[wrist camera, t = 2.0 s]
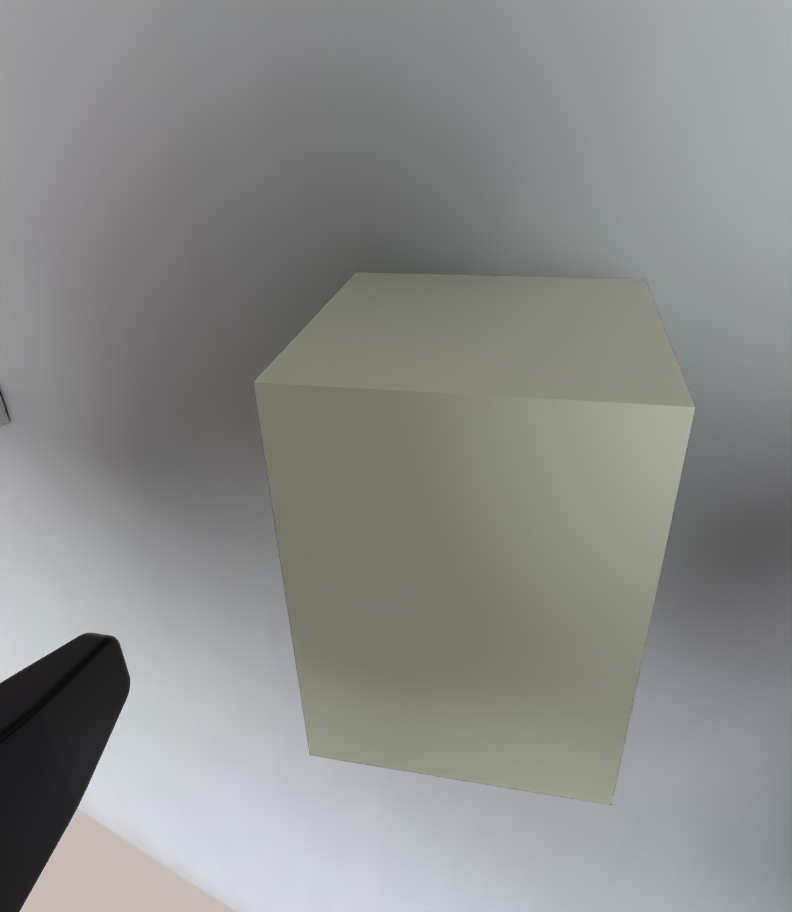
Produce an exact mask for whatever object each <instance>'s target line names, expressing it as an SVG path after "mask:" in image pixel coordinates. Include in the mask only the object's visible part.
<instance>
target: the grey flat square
mask: <svg viewBox="0 0 792 912" xmlns="http://www.w3.org/2000/svg"><path fill="white" fill-rule="evenodd" d="M8 422H9V419H8V416H7V413H6V410H5V407H4V404H3V401H2V398H1V395H0V427H2V426H3V425H5V424H6V423H8Z"/></svg>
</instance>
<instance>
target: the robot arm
mask: <svg viewBox="0 0 792 912" xmlns="http://www.w3.org/2000/svg"><path fill="white" fill-rule="evenodd" d="M129 689H130V676H129V673H128V669H127V666H126V663H125V659H124V656H123V653H122V650H121V646H120V644H119V641H118V640H117V639H116V638H115V637H113V636H109V635H103V634H97V633H85V634H83V635H80V636H78V637H77V638H75V639H73V640H72V641H70V642H68V643H67V644H65V645H63V646H62V647H60V648H58V649H57V650H55V651H53V652H52V653H50V654H48V655H46V656H45V657H43V658H41V659H40V660H38V661H36V662H35V663H33V664H31V665H30V666H28V667H26V668H25V669H23V670H21V671H20V672H18V673H16V674H15V675H13V676H11V677H9V678H8V679H6V680H4V681H3V682H1V683H0V912H19V911H20V910H21V908H22V906H23V904H24V902H25V901H26V899H27V897H28V895H29V894H30V892H31V890H32V888H33V886H34V884H35V883H36V881H37V879H38V877H39V876H40V874H41V872H42V870H43V869H44V867H45V865H46V863H47V862H48V860H49V858H50V856H51V854H52V853H53V851H54V849H55V847H56V846H57V844H58V842H59V840H60V838H61V837H62V835H63V833H64V831H65V830H66V827H67V826H68V824H69V822H70V820H71V819H72V817H73V815H74V813H75V811H76V809H77V807H78V806H79V804H80V801H81V799H82V797H83V795H84V793H85V791H86V789H87V787H88V784H89V782H90V780H91V778H92V775H93V773H94V771H95V769H96V766H97V764H98V762H99V760H100V757H101V755H102V753H103V751H104V748H105V746H106V744H107V742H108V739H109V737H110V735H111V733H112V730H113V728H114V726H115V724H116V721H117V719H118V717H119V715H120V712H121V710H122V708H123V706H124V703H125V701H126V699H127V696H128V693H129Z"/></svg>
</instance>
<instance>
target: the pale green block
mask: <svg viewBox="0 0 792 912" xmlns="http://www.w3.org/2000/svg"><path fill="white" fill-rule="evenodd" d="M253 384H254V391H255V398H256V404H257V411H258V417H259V424H260V430H261V437H262V444H263V450H264V457H265V463H266V470H267V477H268V483H269V490H270V496H271V503H272V510H273V516H274V523H275V529H276V536H277V543H278V549H279V556H280V562H281V569H282V575H283V582H284V589H285V595H286V602H287V608H288V615H289V622H290V628H291V635H292V641H293V648H294V655H295V661H296V668H297V674H298V681H299V688H300V694H301V701H302V707H303V714H304V720H305V727H306V734H307V740H308V747H309V753H310V755H312V756H318V757H324V758H330V759H336V760H342V761H348V762H354V763H360V764H366V765H372V766H378V767H384V768H390V769H396V770H402V771H408V772H414V773H420V774H426V775H432V776H438V777H444V778H450V779H456V780H462V781H468V782H474V783H480V784H486V785H492V786H498V787H504V788H510V789H516V790H522V791H528V792H534V793H540V794H546V795H552V796H558V797H564V798H570V799H576V800H582V801H588V802H594V803H600V804H606V805H612V800H613V796H614V791H615V786H616V781H617V777H618V772H619V767H620V762H621V758H622V753H623V748H624V743H625V739H626V734H627V729H628V724H629V720H630V715H631V710H632V705H633V701H634V696H635V691H636V686H637V682H638V677H639V672H640V667H641V663H642V658H643V653H644V649H645V644H646V639H647V634H648V630H649V625H650V620H651V615H652V611H653V606H654V601H655V596H656V592H657V587H658V582H659V577H660V573H661V568H662V563H663V558H664V554H665V549H666V544H667V539H668V535H669V530H670V525H671V521H672V516H673V511H674V506H675V502H676V497H677V492H678V487H679V483H680V478H681V473H682V468H683V464H684V459H685V454H686V449H687V445H688V440H689V435H690V430H691V426H692V421H693V416H694V411H695V405H694V402H693V400H692V397H691V395H690V392H689V390H688V387H687V384H686V382H685V379H684V377H683V374H682V372H681V369H680V366H679V364H678V361H677V359H676V356H675V354H674V351H673V348H672V346H671V343H670V341H669V338H668V336H667V333H666V330H665V328H664V325H663V323H662V320H661V318H660V315H659V312H658V310H657V307H656V305H655V302H654V300H653V297H652V294H651V292H650V289H649V287H648V284H647V282H646V279H628V278H584V277H541V276H498V275H455V274H412V273H368V272H356V273H355V274H354V275H353V276H352V277H351V278H350V279H349V280H348V281H347V282H346V283H345V284H344V285H343V287H342V288H341V289H340V290H339V291H338V292H337V293H336V294H335V295H334V296H333V297H332V298H331V299H330V300H329V301H328V303H327V304H326V305H325V306H324V307H323V308H322V309H321V310H320V311H319V312H318V313H317V314H316V315H315V316H314V318H313V319H312V320H311V321H310V322H309V323H308V324H307V325H306V326H305V327H304V328H303V329H302V330H301V331H300V333H299V334H298V335H297V336H296V337H295V338H294V339H293V340H292V341H291V342H290V343H289V344H288V345H287V346H286V348H285V349H284V350H283V351H282V352H281V353H280V354H279V355H278V356H277V357H276V358H275V359H274V360H273V361H272V363H271V364H270V365H269V366H268V367H267V368H266V369H265V370H264V371H263V372H262V373H261V374H260V375H259V376H258V378H257V379H256V380H255V381H254V382H253Z"/></svg>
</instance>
